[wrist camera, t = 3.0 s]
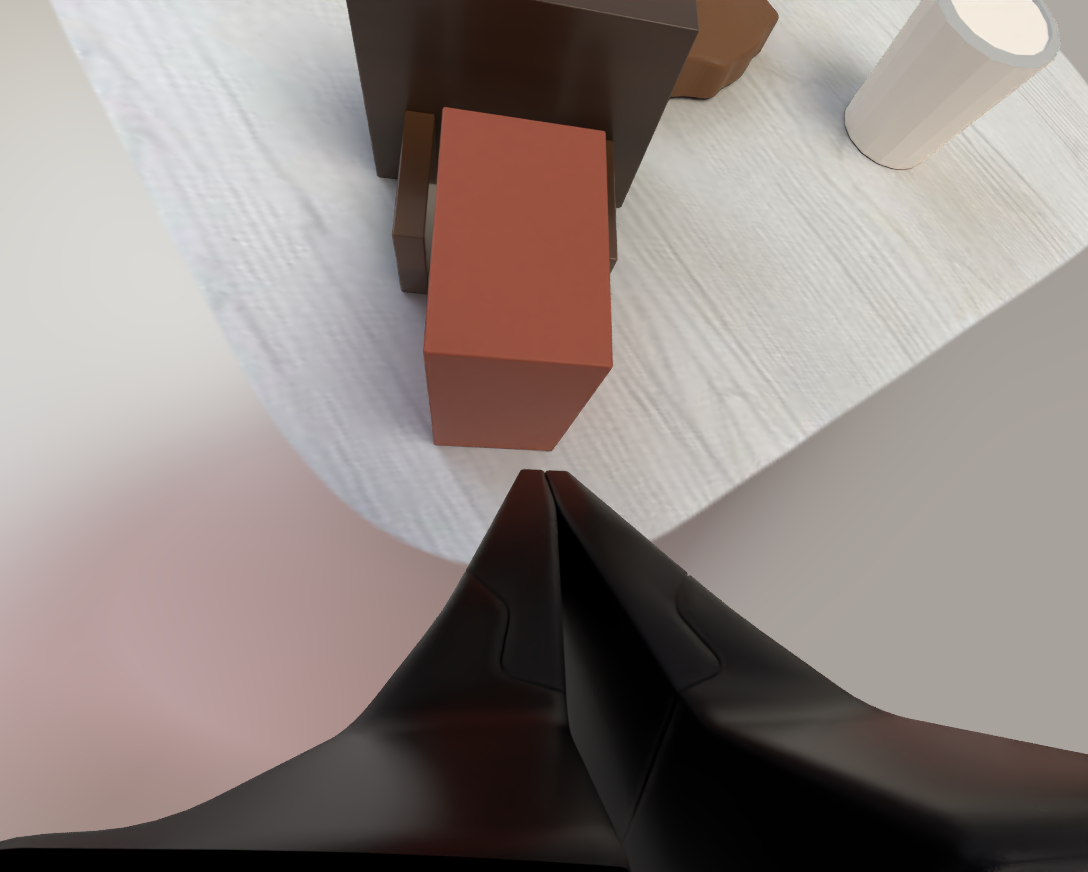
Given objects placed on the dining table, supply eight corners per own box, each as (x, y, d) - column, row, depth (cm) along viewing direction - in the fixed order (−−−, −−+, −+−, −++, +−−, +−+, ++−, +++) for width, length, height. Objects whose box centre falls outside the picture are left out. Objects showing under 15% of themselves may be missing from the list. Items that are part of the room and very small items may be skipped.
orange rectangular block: (552, 451, 23) (613, 367, 14) (433, 445, 22) (422, 352, 13) (553, 287, 25) (606, 130, 16) (445, 276, 24) (442, 105, 16)
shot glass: (957, 166, 32) (1089, 56, 25) (870, 188, 30) (988, 75, 24) (900, 79, 33) (1012, -48, 27) (815, 94, 32) (912, -37, 25)
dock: (625, 313, 25) (714, 171, 17) (363, 288, 23) (313, 113, 15) (618, 145, 28) (692, -50, 19) (385, 110, 26) (353, -123, 18)
